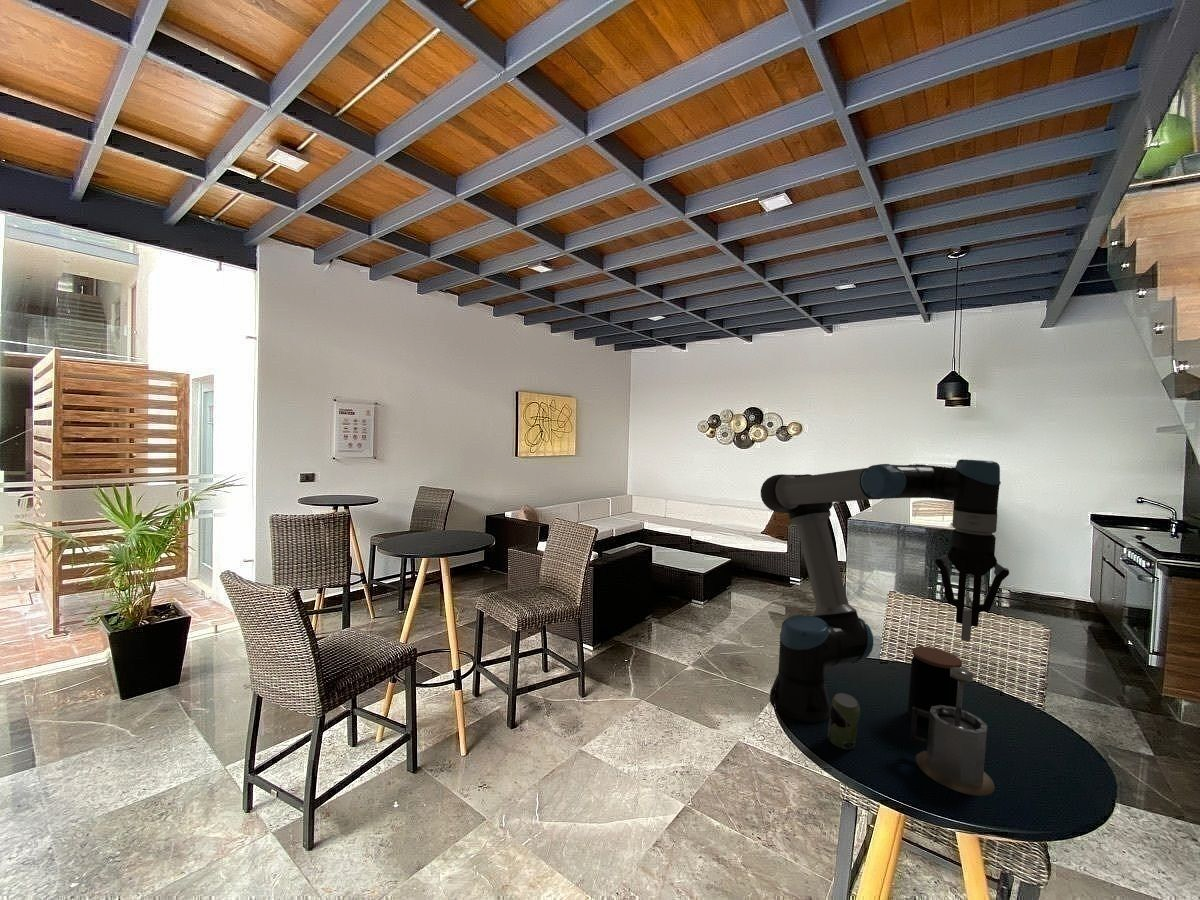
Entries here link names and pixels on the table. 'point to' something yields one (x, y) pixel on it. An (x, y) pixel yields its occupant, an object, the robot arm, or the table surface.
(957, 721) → the plunger
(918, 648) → the coffee jar
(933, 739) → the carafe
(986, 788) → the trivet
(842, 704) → the beverage can
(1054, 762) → the table surface
